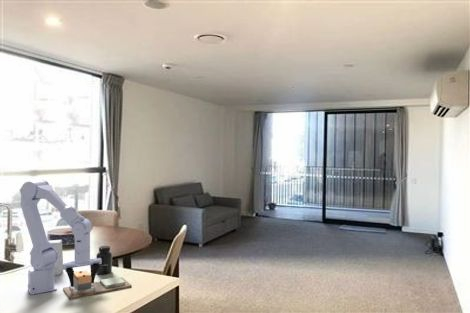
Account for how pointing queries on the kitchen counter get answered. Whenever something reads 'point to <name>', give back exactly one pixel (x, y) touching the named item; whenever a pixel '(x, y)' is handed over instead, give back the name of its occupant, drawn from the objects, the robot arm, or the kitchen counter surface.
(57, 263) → the skincare box
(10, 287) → the kitchen counter surface
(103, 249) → the supplement bottle
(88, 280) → the plate
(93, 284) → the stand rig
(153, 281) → the kitchen counter surface
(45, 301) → the kitchen counter surface
